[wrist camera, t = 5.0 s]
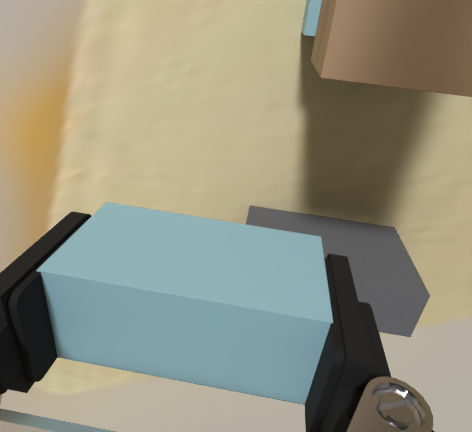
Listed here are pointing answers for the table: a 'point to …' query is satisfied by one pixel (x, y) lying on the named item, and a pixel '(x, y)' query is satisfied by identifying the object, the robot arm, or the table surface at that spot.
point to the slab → (397, 43)
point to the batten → (191, 300)
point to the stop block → (363, 263)
